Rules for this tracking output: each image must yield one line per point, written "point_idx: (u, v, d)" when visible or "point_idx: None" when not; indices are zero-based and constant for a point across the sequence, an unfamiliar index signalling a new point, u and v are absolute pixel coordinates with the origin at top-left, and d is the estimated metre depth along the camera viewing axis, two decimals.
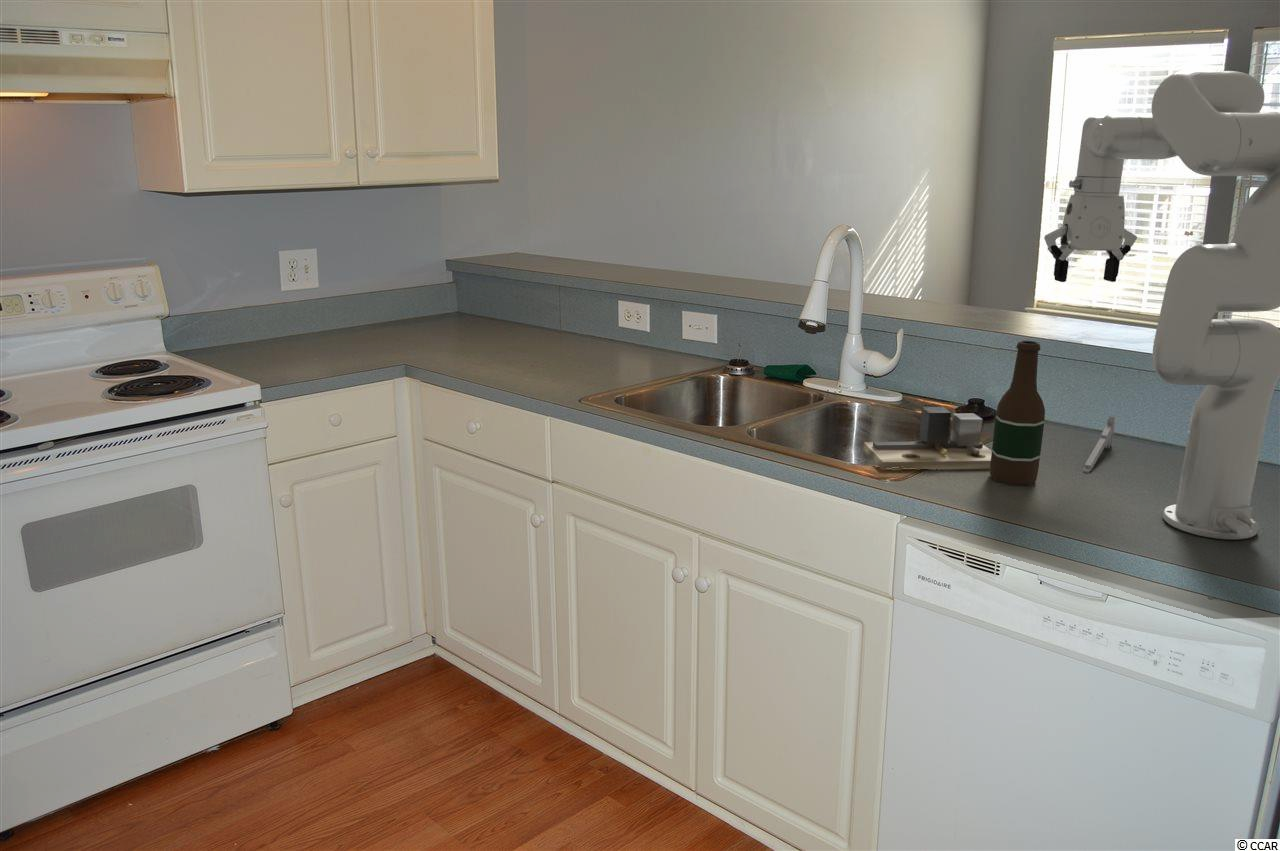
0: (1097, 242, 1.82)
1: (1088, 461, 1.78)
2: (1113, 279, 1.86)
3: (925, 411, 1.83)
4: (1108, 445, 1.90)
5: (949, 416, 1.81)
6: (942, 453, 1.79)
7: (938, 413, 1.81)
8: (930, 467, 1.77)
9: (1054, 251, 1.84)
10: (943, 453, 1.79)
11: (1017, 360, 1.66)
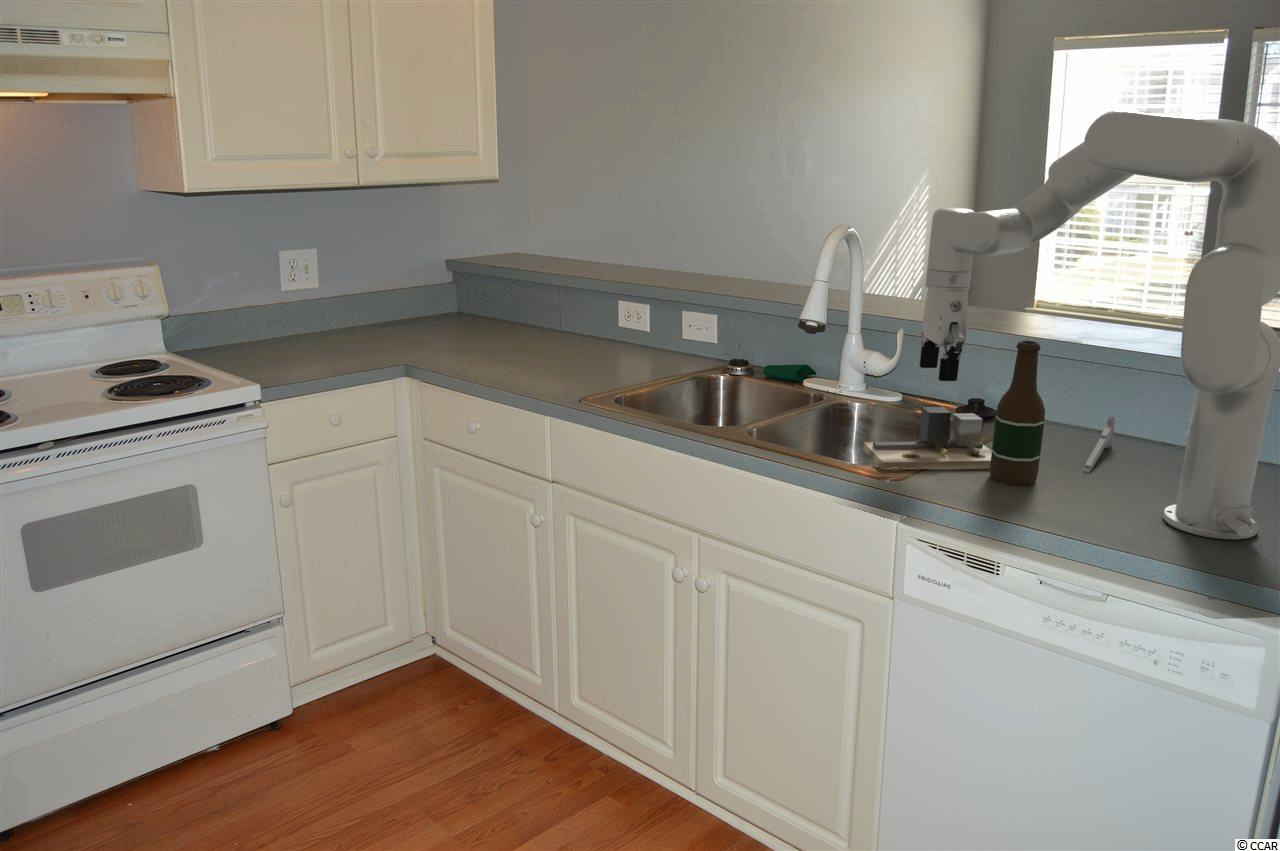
0: None
1: (1088, 461, 1.78)
2: None
3: (925, 411, 1.83)
4: (1108, 445, 1.89)
5: (949, 416, 1.81)
6: (942, 453, 1.79)
7: (938, 413, 1.81)
8: (930, 467, 1.77)
9: None
10: (943, 453, 1.79)
11: (1017, 360, 1.66)
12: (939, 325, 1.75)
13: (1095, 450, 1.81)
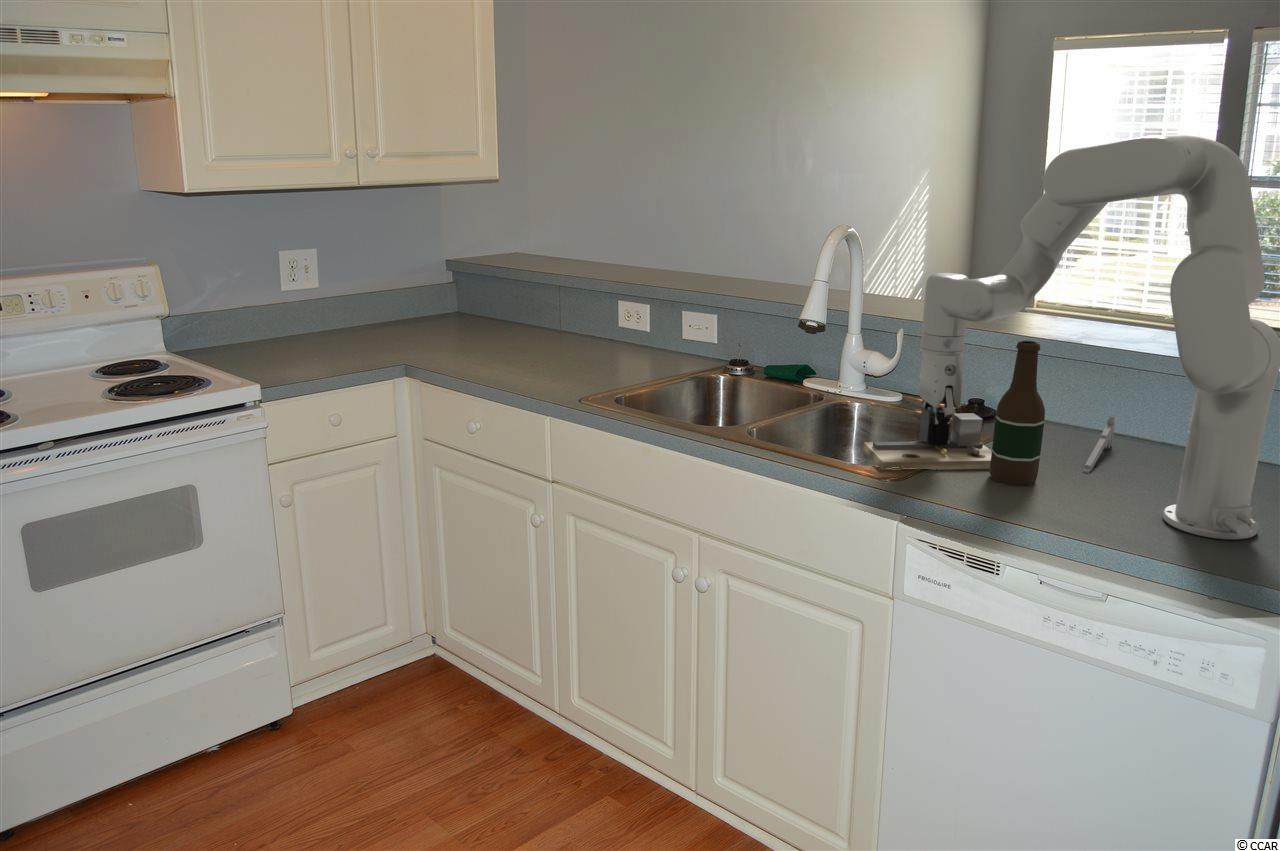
0: None
1: (1088, 461, 1.78)
2: None
3: (925, 411, 1.83)
4: (1108, 445, 1.89)
5: None
6: (942, 453, 1.79)
7: None
8: (930, 467, 1.77)
9: None
10: (943, 453, 1.79)
11: (1017, 360, 1.66)
12: (934, 388, 1.77)
13: (1095, 450, 1.81)
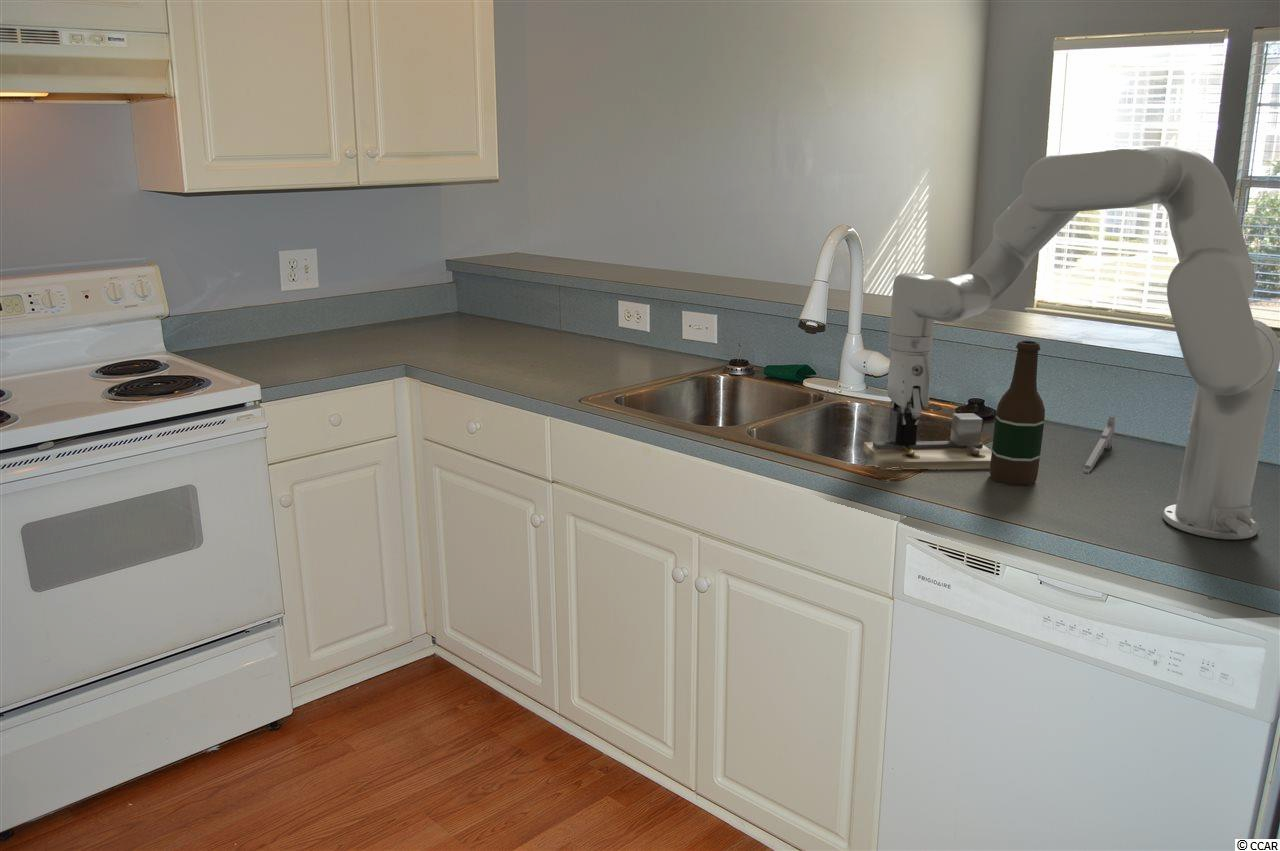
0: None
1: (1088, 461, 1.78)
2: None
3: (893, 411, 1.82)
4: (1108, 445, 1.89)
5: None
6: (910, 453, 1.79)
7: (906, 413, 1.80)
8: (930, 467, 1.77)
9: None
10: (911, 453, 1.78)
11: (1017, 360, 1.66)
12: (902, 389, 1.77)
13: (1095, 450, 1.81)
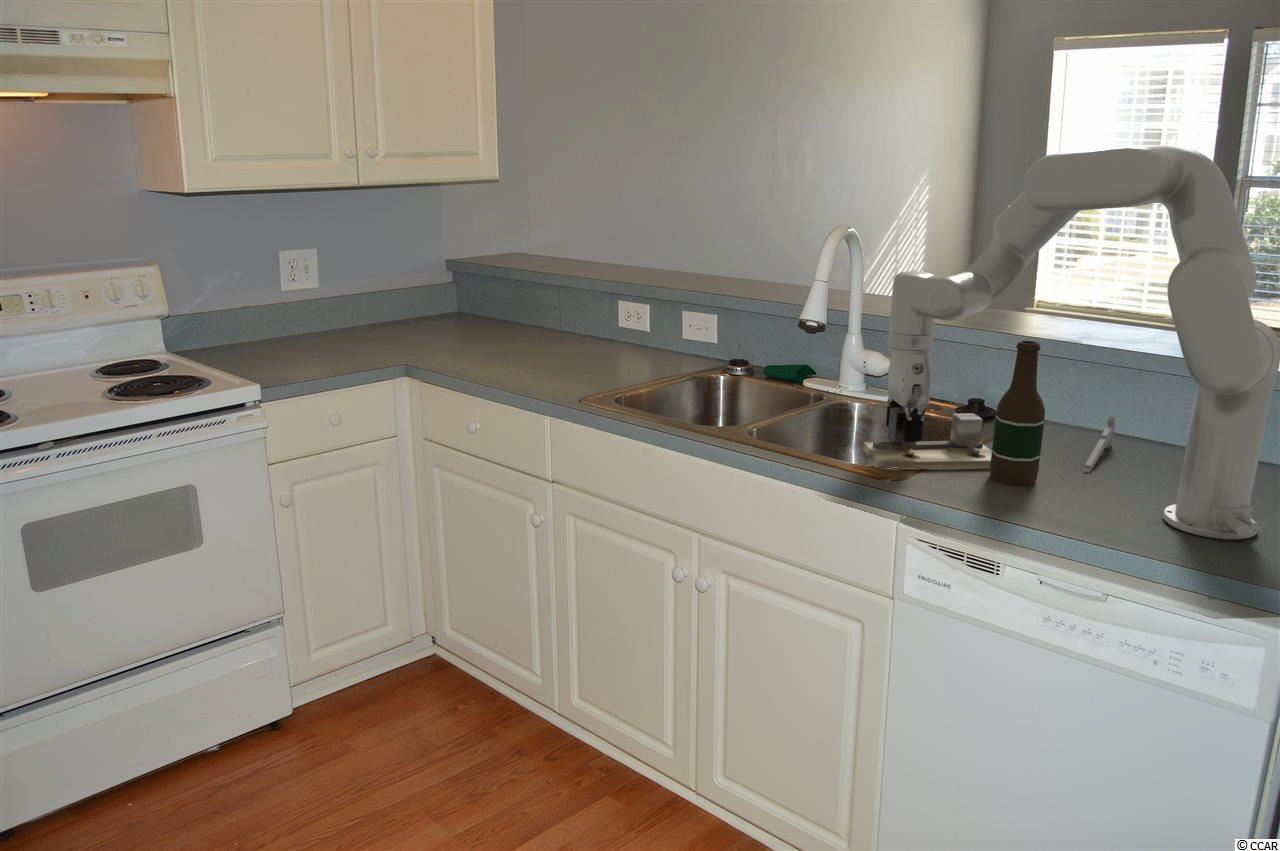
0: None
1: (1088, 461, 1.78)
2: None
3: (893, 411, 1.82)
4: (1108, 445, 1.89)
5: None
6: (910, 453, 1.79)
7: None
8: (930, 467, 1.77)
9: None
10: (910, 453, 1.78)
11: (1017, 360, 1.66)
12: (902, 387, 1.77)
13: (1095, 450, 1.81)
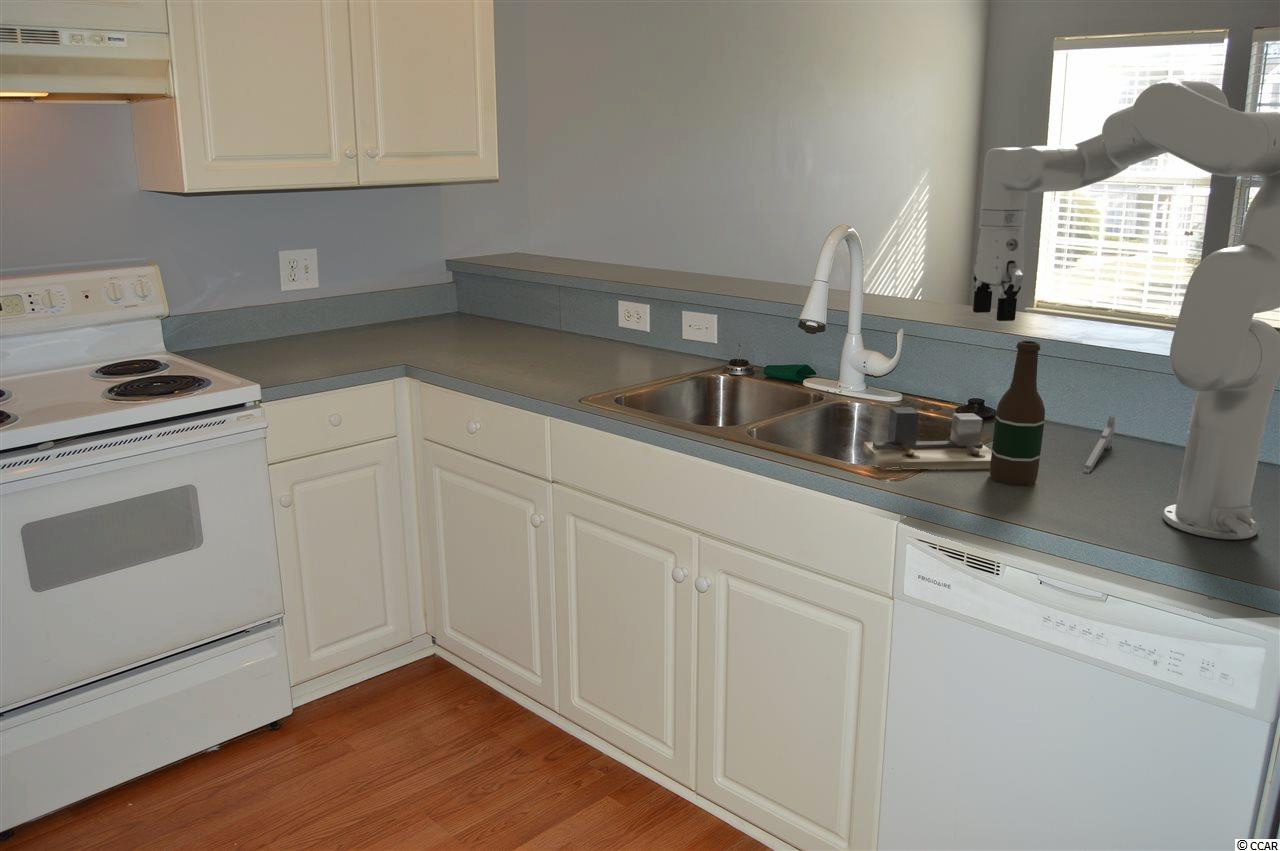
0: None
1: (1088, 461, 1.78)
2: (990, 309, 1.86)
3: (893, 411, 1.82)
4: (1108, 445, 1.89)
5: (916, 416, 1.81)
6: (910, 453, 1.79)
7: (906, 413, 1.80)
8: (930, 467, 1.77)
9: None
10: (910, 453, 1.78)
11: (1017, 360, 1.66)
12: (996, 265, 1.75)
13: (1095, 450, 1.81)
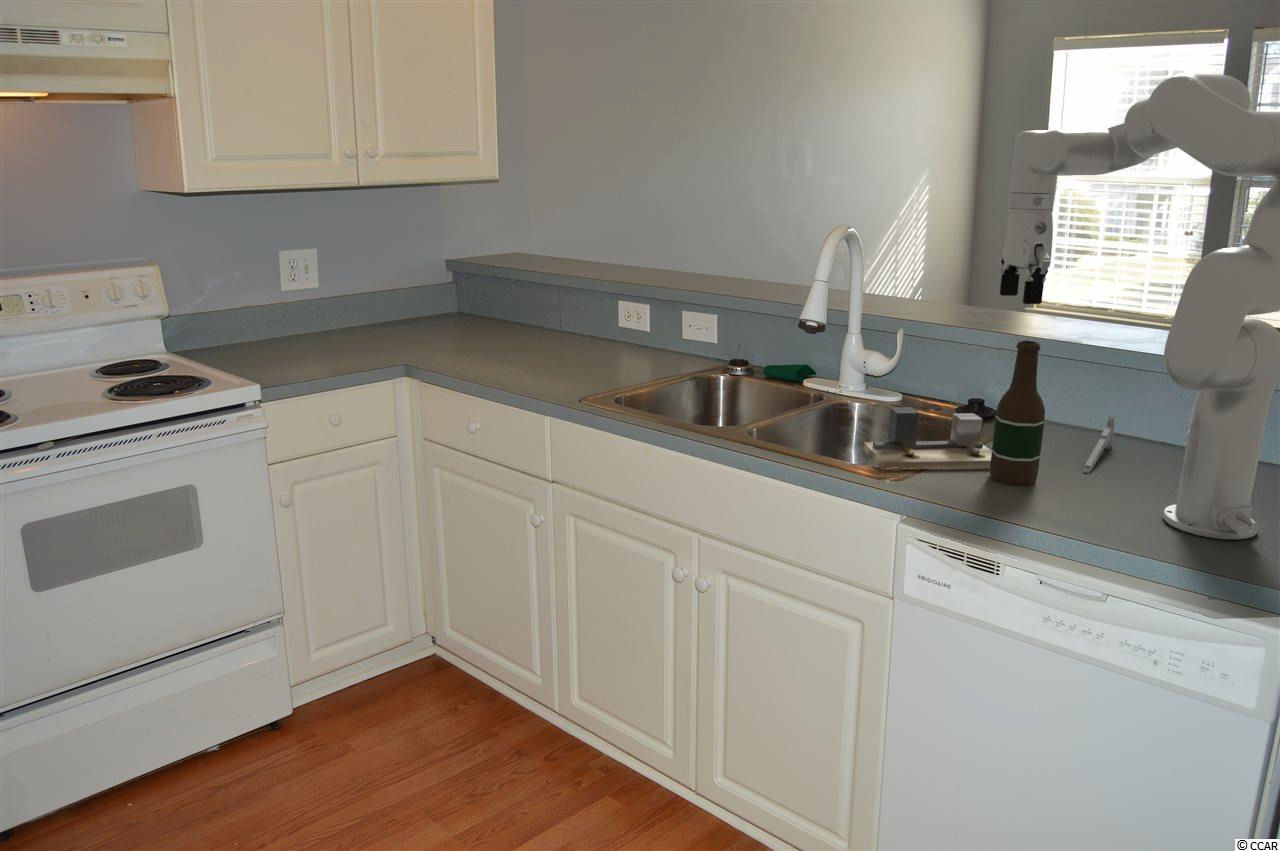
0: None
1: (1088, 461, 1.78)
2: (1017, 292, 1.86)
3: (893, 411, 1.82)
4: (1108, 445, 1.89)
5: (916, 416, 1.81)
6: (910, 453, 1.79)
7: (906, 413, 1.80)
8: (930, 467, 1.77)
9: None
10: (910, 453, 1.78)
11: (1017, 360, 1.66)
12: (1023, 248, 1.75)
13: (1095, 450, 1.81)
